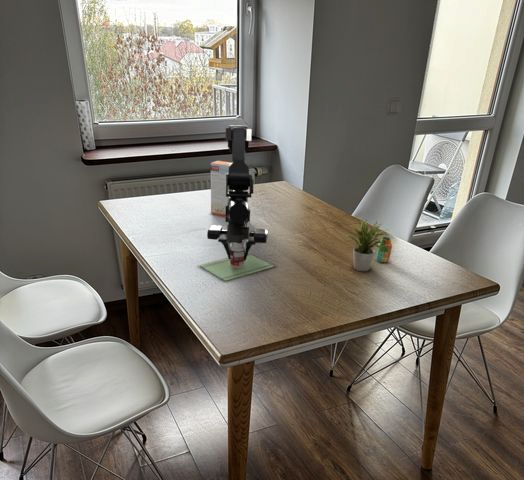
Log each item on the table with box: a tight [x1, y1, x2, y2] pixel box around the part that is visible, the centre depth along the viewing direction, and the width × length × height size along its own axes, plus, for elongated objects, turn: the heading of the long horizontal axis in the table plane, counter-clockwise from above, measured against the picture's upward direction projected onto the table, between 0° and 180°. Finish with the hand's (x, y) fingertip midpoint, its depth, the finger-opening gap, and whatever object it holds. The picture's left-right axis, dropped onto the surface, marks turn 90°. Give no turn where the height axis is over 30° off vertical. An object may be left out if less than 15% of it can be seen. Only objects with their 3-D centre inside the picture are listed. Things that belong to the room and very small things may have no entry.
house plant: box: [347, 219, 388, 272], centre depth 168 cm, size 14×14×16 cm
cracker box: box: [210, 160, 232, 217], centre depth 210 cm, size 14×6×21 cm, turn 58°
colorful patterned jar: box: [376, 236, 393, 263], centre depth 177 cm, size 5×5×8 cm
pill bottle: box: [230, 240, 246, 268], centre depth 167 cm, size 5×5×8 cm
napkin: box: [199, 252, 275, 282], centre depth 170 cm, size 14×20×1 cm
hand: (237, 259), depth 168 cm, fingers closed on pill bottle, 5 cm apart
